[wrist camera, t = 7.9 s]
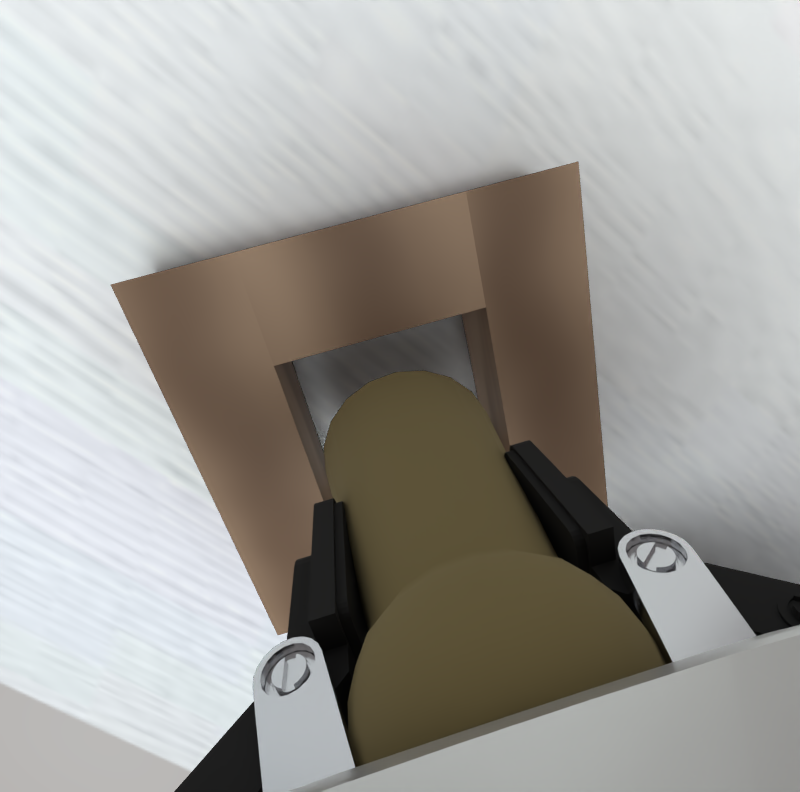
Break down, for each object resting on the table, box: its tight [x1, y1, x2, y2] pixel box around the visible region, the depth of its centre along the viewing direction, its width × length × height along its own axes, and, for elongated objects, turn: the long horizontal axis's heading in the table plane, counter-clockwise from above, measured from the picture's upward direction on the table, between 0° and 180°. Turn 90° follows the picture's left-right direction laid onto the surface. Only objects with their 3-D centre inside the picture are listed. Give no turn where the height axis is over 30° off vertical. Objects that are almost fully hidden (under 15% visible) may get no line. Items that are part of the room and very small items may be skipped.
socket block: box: [111, 162, 608, 635], centre depth 20 cm, size 16×16×4 cm
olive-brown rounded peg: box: [324, 371, 666, 767], centre depth 11 cm, size 6×6×11 cm
